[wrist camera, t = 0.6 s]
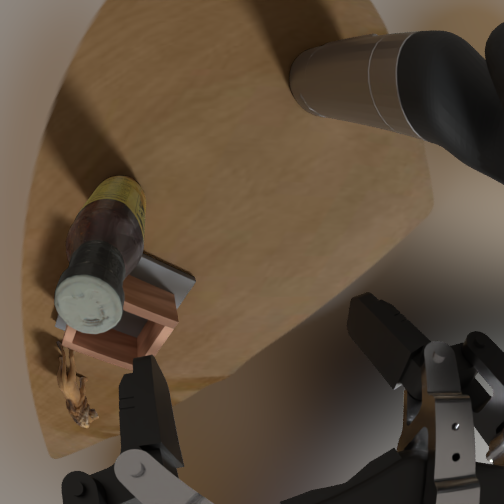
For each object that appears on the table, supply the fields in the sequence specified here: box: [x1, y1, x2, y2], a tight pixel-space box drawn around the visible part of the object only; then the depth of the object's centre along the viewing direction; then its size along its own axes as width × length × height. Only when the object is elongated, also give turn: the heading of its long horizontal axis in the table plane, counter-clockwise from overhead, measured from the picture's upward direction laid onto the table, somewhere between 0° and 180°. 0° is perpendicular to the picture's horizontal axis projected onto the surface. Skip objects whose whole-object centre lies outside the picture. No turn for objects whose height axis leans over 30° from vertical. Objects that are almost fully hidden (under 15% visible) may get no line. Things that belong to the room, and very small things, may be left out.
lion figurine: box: [57, 341, 99, 428], centre depth 35 cm, size 15×5×9 cm, turn 178°
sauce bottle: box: [54, 176, 146, 334], centre depth 21 cm, size 7×6×20 cm
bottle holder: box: [55, 254, 196, 371], centre depth 33 cm, size 17×15×6 cm
